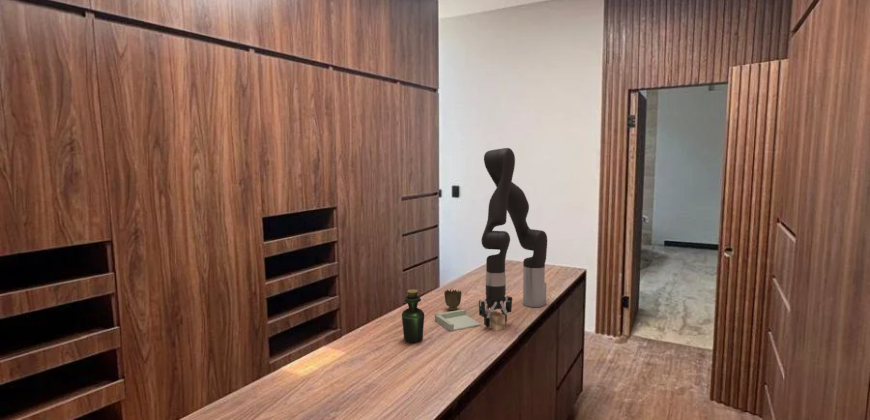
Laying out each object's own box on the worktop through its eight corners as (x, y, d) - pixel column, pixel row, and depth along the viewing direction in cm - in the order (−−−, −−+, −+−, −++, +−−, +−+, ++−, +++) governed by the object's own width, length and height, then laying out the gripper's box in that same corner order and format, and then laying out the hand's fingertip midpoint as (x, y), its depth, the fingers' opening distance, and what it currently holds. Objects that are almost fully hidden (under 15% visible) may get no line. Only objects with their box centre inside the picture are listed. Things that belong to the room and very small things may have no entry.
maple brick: (494, 323, 179) (494, 309, 178) (505, 329, 173) (505, 315, 172) (486, 325, 177) (486, 311, 177) (496, 331, 171) (496, 317, 170)
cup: (460, 313, 191) (460, 294, 190) (442, 312, 192) (442, 293, 191) (462, 307, 198) (462, 289, 197) (446, 306, 200) (445, 288, 199)
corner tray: (464, 315, 189) (464, 309, 188) (481, 325, 177) (481, 319, 177) (434, 320, 183) (434, 314, 183) (450, 331, 171) (450, 324, 171)
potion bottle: (419, 345, 158) (418, 295, 156) (398, 342, 161) (397, 293, 159) (428, 337, 166) (427, 288, 164) (407, 334, 169) (406, 287, 167)
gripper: (505, 278, 180) (505, 319, 181) (474, 282, 173) (474, 325, 175) (517, 282, 173) (516, 325, 175) (484, 287, 167) (484, 331, 169)
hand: (495, 324), depth 175 cm, fingers open, 7 cm apart
